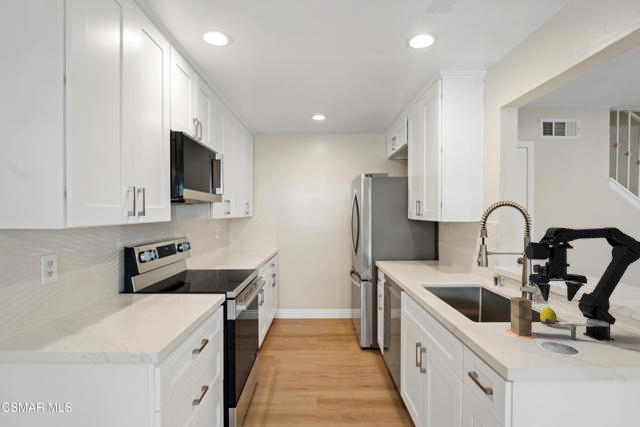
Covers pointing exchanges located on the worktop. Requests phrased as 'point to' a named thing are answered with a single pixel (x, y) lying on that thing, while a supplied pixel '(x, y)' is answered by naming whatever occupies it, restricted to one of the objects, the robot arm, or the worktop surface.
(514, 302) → the walnut block
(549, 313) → the lemon
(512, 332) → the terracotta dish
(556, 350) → the slate dish
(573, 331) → the balance
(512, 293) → the worktop surface
